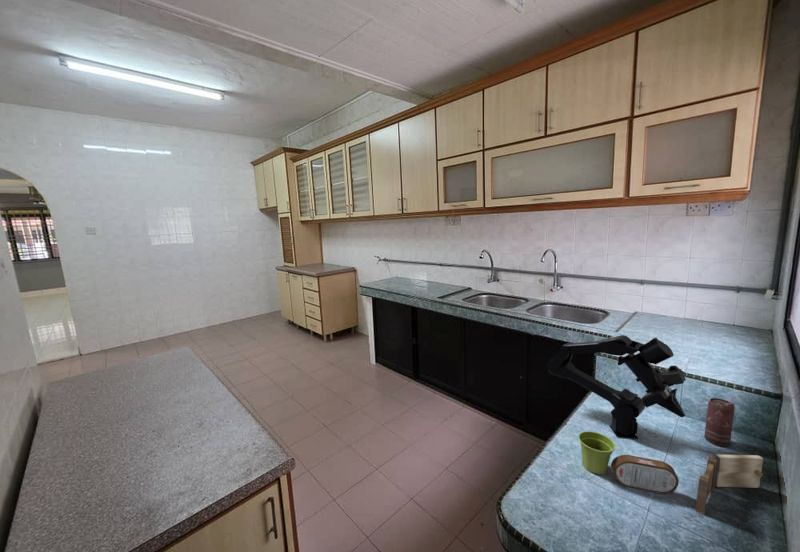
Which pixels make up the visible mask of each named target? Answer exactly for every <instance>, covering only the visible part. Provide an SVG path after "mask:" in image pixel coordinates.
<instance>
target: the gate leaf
mask: <svg viewBox="0 0 800 552" xmlns="http://www.w3.org/2000/svg"><path fill="white" fill-rule="evenodd" d="M709 457H711V458H714V459H717V465H716V472H715V480H714V488H716V487H717V488H721V487H723V488H752V489H753V488H754V489H755V488H756V489H757V488H760V484H761V477H763V475H764V474H763V471H762V470H763V462H764V457H762V456H760V455H755V454H754V455H752V454H751V455H750V454H717V453H716V454H715V453H712V452H710V453H708V458H709ZM714 488H713V489H714Z"/></svg>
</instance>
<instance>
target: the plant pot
mask: <svg viewBox="0 0 800 552" xmlns="http://www.w3.org/2000/svg"><path fill="white" fill-rule="evenodd" d="M577 438H578V441H579V444H580V448H581V449H580V450H581V461H582V466H583V468H584V469H586V470H587V471H589V472H590V473H594V474H598V475H604V474H605V473H606V472H607V470H608V467H609V463H610V459H611V455H612V453H614V451H615V449H616V444H615V442H614V440H612V439H611V438H609V437H608V436H606V435H605V434H603V433H600V432H596V431H590V430H588V431H587V430H585V431H582V432H579V433H578V436H577Z"/></svg>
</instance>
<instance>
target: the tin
mask: <svg viewBox="0 0 800 552" xmlns="http://www.w3.org/2000/svg"><path fill="white" fill-rule="evenodd" d="M610 467H611V472H612V473H613V476H614V478H615V479H616V480H617V481H618V482H619V484H622V485H623V486H626V487H629V488H633V489H638V490H642V491H647V492H651V493H657V494H671V493H673V492H674V491H676V490H677V488H678V486H679V484H680V483H679V481H680V480H679V477H678V475H677V474H676V471H675V470H674V468H673V467H672V466H671V465H670V464H669V463H667V462H665V461H662V460H659V459H652V458H647V457H642V456H635V455H631V454H621V455H617V456H615V457H614V458H613V459H612V461H611V463H610Z"/></svg>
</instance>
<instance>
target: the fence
mask: <svg viewBox="0 0 800 552" xmlns="http://www.w3.org/2000/svg"><path fill="white" fill-rule="evenodd" d="M706 462H707V463H706V469H705V471H704V474H703V475H701V474H700V476H699V478H698V485H697V486H698V487H697V495H696V503H695V512H696V513H697V512H698V513H699V514H701V515H705V513H706V508H707V502H708V501H707V500H708V499H709V498H708V497H709V496H710V493H711V494H713V492H714V480H715V472H716V465H717V459H714V458H711V457H709V456H708V458H707V461H706Z"/></svg>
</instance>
